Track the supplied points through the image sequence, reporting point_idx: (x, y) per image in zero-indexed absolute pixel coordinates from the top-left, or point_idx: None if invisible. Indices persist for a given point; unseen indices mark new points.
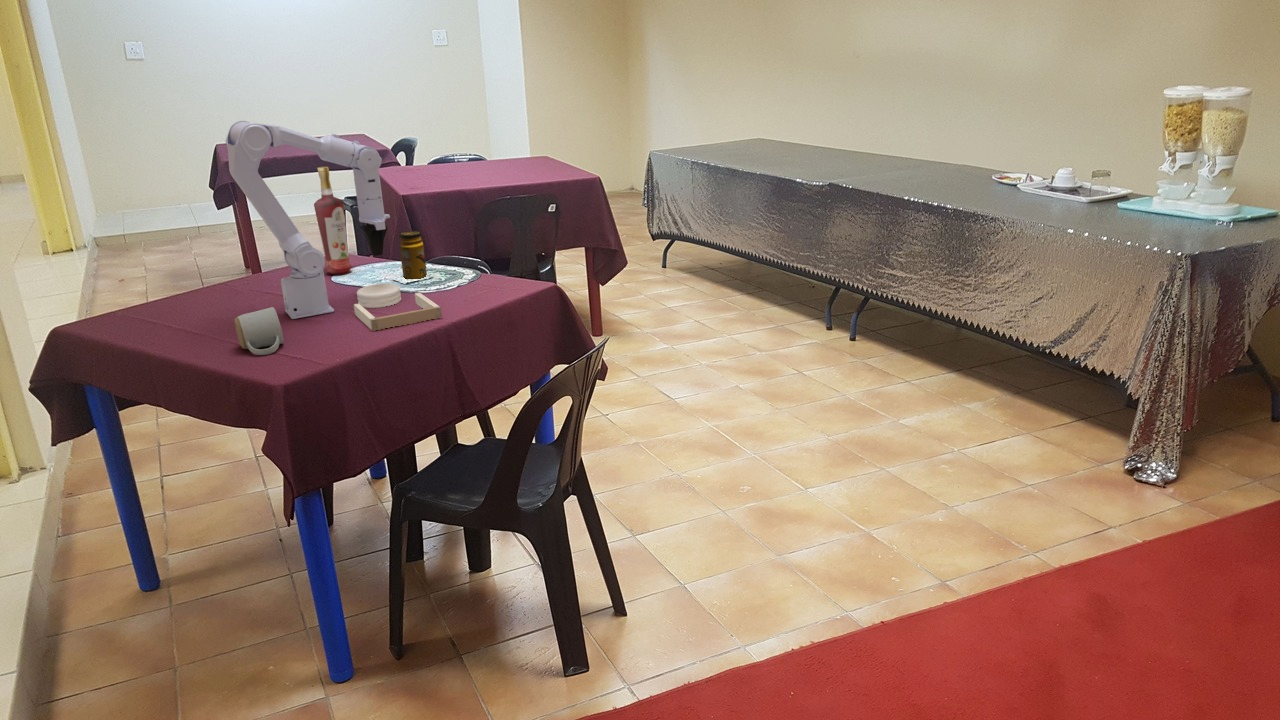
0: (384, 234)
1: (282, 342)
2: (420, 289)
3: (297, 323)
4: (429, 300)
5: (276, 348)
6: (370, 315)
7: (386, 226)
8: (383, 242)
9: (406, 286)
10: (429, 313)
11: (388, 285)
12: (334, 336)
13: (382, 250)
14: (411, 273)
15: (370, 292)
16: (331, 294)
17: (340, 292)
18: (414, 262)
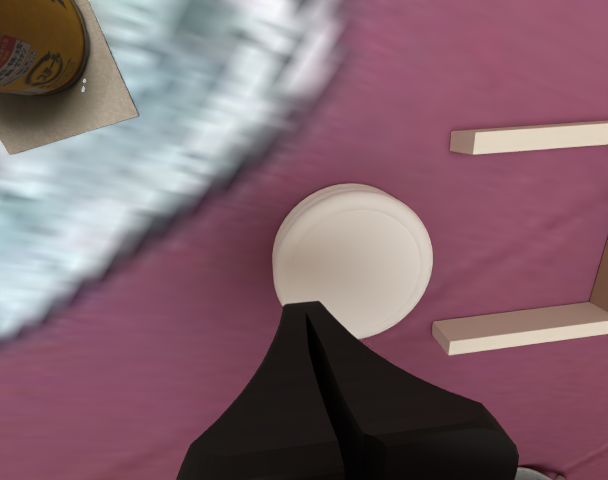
0: (421, 384)
1: (536, 471)
2: (258, 73)
3: None
4: (601, 128)
5: (564, 478)
6: (589, 327)
7: (489, 442)
8: (357, 339)
9: (172, 117)
10: None
11: (324, 230)
12: (557, 386)
13: (329, 312)
14: (64, 57)
15: (382, 303)
16: (155, 372)
17: (142, 347)
18: (26, 13)
